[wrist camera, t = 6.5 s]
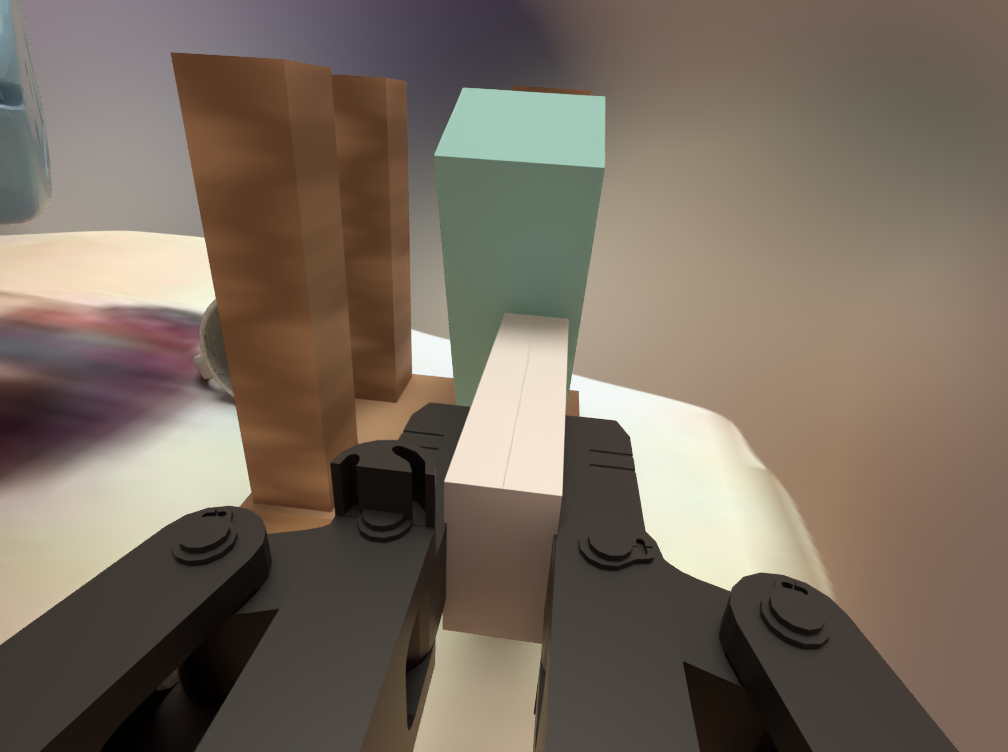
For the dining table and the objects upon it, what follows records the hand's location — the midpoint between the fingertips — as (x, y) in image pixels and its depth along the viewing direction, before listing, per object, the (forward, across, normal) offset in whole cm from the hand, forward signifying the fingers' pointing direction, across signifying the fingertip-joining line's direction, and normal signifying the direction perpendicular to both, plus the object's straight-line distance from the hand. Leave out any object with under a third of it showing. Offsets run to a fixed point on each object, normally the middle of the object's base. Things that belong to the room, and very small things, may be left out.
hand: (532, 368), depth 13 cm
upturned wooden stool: (+10, -4, -12) cm, 16 cm away
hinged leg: (+6, -1, -9) cm, 11 cm away
